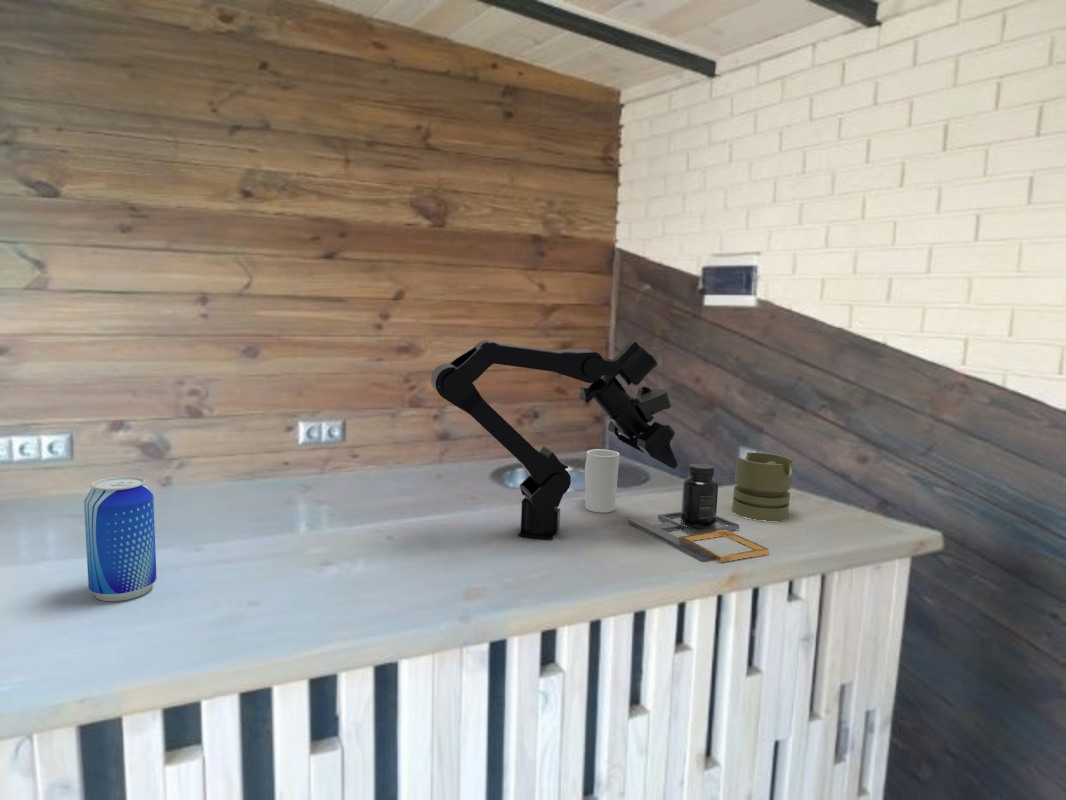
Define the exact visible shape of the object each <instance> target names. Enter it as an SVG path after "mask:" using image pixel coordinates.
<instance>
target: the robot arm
mask: <svg viewBox="0 0 1066 800" xmlns="http://www.w3.org/2000/svg"><path fill="white" fill-rule="evenodd" d="M493 365H500V366H501V365H502V366H507V367H508V366H509V367H516V368H524V369H530V370H531V369H532V370H540V371H546V372H547V371H548V372H554V373H556V374H560V375H563V376H566V377H569V378H572V379H574V380H577V381H581V382H584V383H588V386H580V387H579V388H580V393H579V401H580V402H583V403H585V404H588V403H590V402H591V401H592V400H593V401H594V402H595V403H596V404H597V405H598V406H599V408H600V409H601V411H603V412H604V417H605V418H606V420H609V421H610V422H609V423H608V427H607V428H608V429H607V430H608V432H609V433H610V434H611V436H613V437H614V438H616V439H617V440H619V441H620V442H623V444H626V445H628V446H630V447H632V448H634V449H635V450H637V451H639V452H641V453H643V454H645V455H647V456H648V457H651V458H653V459H654V460H655V461H658V462H660V463H662V464H664V465H666V466H667V467H669V468H671V469H673V470H674V469H676V468H677V467H678V465H679V464H678V462H677V460H676V457H675V455H674V452H673V449H672V446H671V441H672V440H673V438H674V436H675V435H676V432H675V430H674V429H673V428H672V427H671V426H670V425H671V424H670V425H669V424H667V423H665V422H663V421H654V422H653V423H651V425H650V424H649V423H650V422H651V421H653V420H654V419H655V417H654V416H653V415H655V414H658V413H660V412H662V411H664V410H668V409H671V407H672V404H671V401H670V397H669V395H668V391H667V390H664V389H661V388H652V389H651V388H650V387H649V386H646V385H643V386H640V387H638V388H637V394H636V397H632V395H630V394H629V392H628V391H627V389H626V388H625V387H627V388H628V387H630V385H631V386H632V387H634V388H635V387H637V386H638V385H640V383H642V382H643V381H644V380H645V378H647V377H648V376H649V375H650V374H651V373H652V372H653V371H654V370H655V369H657V367H658V363H657V360H656V359H655V357H654V356H653V355H652V354H650V353H649V352H648V351H647V350H646V349H644V348H643V347H641V346H640V345H639V343H638V342H636V341H629V342H628V343H627V345H625V347H624V348H623V349H622V350H621V351H620V352H619V353H618V354H617V355H616V356H615V357H614V358H613V359H611V358H608V357H603V356H602V355H601V354H600V353H599V352H596V351H594V350H593V351H592V350H589V349H585V348H569V349H568V348H567V349H566V348H565V349H557V350H556V349H555V350H550V349H549V350H548V349H543V348H535V347H529V346H522V345H517V344H516V345H514V344H509V343H502V342H501V343H500V342H495V341H492V340H489V339H483V340H480V341H479V342H478V343H477V344H476V345H475V346H474V347H472V348H470V349H469V350H467V351H466V352H464V353H462V354H461V355H459V356H457V357H456V358H455V359H453V360H452V361H451V362H450V363H442V364H439V365H438V366H436V367H435V368H434V370H433V371H432V372H431V376H430V384H431V388H432V389H433V390H434V391H435V392H436V393H437V394H438V395H439V396H440V397H441V398H443V399H444V400H445V401H447V402H449V403H451V404H452V405H453V406H455V407H456V408H458V409H460V410H462V411H463V412H465V413H466V414H468V415H470V416H471V418H473V420H475V421H477V423H478V424H479V425H481V427H482V428H483V429H484V430H485V431H487V432H488V433H489V434H490V435H491V436H492V437H493V438H494V439H495V440H496V441H498V443H500V444H501V446H503V448H505V449H506V450H507V452H510V454H511V455H512V456H513V457H514V458H515V459H516V460H517V461H518V462H519V463H520V464H521V466H522V467H523V469H524V471H525V473H526V474H527V475H528V476H527V477H526V478H525V479H524V480H523V481H522V482H521V483H520V484H519V489H520V492H521V495H522V496H523V497H524V498H523V499H522V500H521V511H520V512H521V514H520V515H521V516H520V530H519V531H518V533H517V535H518V536H519V537H527V538H535V539H542V540H554V538H555V536H556V535H557V534H558V532H559V531H560V523H561V509H560V508H558V507H560V504H561V501H562V498H564V497H563V496H564V494H566V493H567V492H568V490H570V486H571V482H572V480H571V479H572V477H571V474H570V473H569V471H568V470H567V469H569V466H568V465H566V463H564V462H563V461H562V460H560V459H559V458H558V457H557V456H556V453H554V452H553V451H551V450H550V449H549V448H547V447H546V446H542V447H541V450H538V449H537V448H535V447H534V446H533V445H531V444H530V442H528V441H527V440H526V439H525V438H524V437H523V436H522V434H520V433H519V432H518V431H517V430H515V428H514V427H513V426H512V425H510V423H509V422H508V421H507V420H506V419H504V417H502V416H501V414H499V412H497V411H496V410H495V408H493V407H492V406H491V405H490V404H489V403H488V402H487V401H485V400H484V398H483V397H482V395H481V394H480V391H478V389H477V387H476V386H475V384H474V382H475V381H477V380H478V379H479V377H481V375H483V374H484V373H485V372H486V371H487V370H488V369H489V368H490V367H491V366H493ZM623 385H624V386H625V387H624V386H623Z"/></svg>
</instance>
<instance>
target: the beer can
mask: <svg viewBox="0 0 1066 800" xmlns="http://www.w3.org/2000/svg"><path fill="white" fill-rule="evenodd" d="M90 487H91V489H90V490H89V492H88V494H87V495H86V497H85V498H84V500H83V508H84V509H83V510H84V526H85V527H84V528H85V543H86V544H85V545H86V561H87V562H86V564H87V565H86V567H87V580H88V581H87V582H88V590H89V592H91V593H93V594H94V596H95V598H96V599H98V600H99V601H100V600H101V601H104V602H121V601H122V602H123V601H127V600H131V599H136V598H139V597H141V595H142V596H143V595H145V594H147V593H148V592H150V590H151V588H152V586H153V585H154V584H155V582H156V581H157V579H158V576H157V555H156V554H157V553H156V531H155V530H156V529H155V528H156V527H155V503H154V502H155V501H154V494H153V492H152V491H151V489H150V488H149V487H148V486H147V484H146V479H145V478H144V477H139V476H135V475H134V476H133V475H132V476H131V475H130V476H129V475H127V476H126V475H125V476H112V477H106V478H103V479H98V480H95V481H92V482H91V484H90Z"/></svg>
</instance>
